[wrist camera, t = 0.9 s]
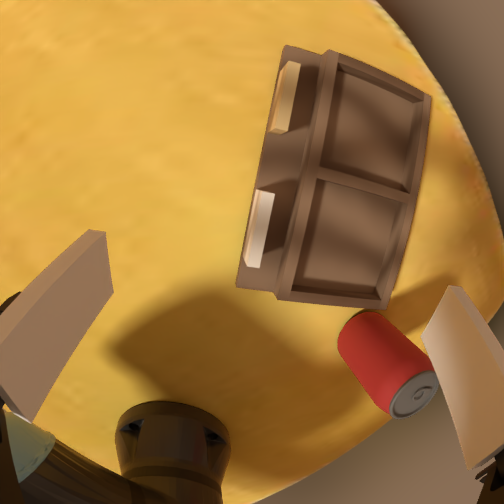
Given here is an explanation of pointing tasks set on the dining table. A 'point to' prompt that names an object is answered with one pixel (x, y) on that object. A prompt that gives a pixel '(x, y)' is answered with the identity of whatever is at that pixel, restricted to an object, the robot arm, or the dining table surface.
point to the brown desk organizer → (334, 182)
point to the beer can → (387, 365)
